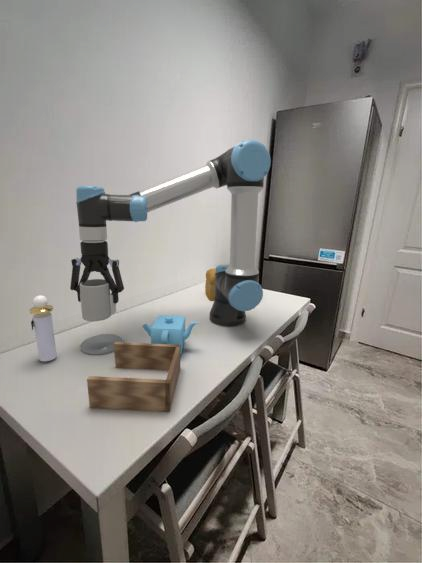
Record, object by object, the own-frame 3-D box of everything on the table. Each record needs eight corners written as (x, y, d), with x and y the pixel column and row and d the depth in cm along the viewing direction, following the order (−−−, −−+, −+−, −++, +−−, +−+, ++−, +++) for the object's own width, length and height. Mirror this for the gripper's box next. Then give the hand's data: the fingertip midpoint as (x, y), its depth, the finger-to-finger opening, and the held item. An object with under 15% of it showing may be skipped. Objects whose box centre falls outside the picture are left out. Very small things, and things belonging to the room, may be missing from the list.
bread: (209, 301, 136) (210, 272, 132) (204, 293, 148) (205, 266, 144) (256, 299, 141) (258, 271, 137) (248, 292, 153) (250, 265, 149)
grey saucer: (128, 336, 98) (128, 334, 97) (114, 356, 85) (114, 353, 85) (91, 335, 98) (91, 333, 98) (72, 354, 85) (72, 351, 85)
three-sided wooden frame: (180, 368, 80) (180, 344, 78) (169, 411, 63) (169, 383, 61) (116, 365, 80) (115, 341, 78) (89, 407, 64) (86, 379, 62)
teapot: (149, 337, 98) (148, 307, 95) (200, 339, 98) (201, 309, 95) (136, 361, 83) (134, 327, 80) (196, 364, 82) (197, 329, 79)
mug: (93, 324, 82) (90, 288, 79) (76, 316, 86) (73, 282, 83) (126, 312, 91) (124, 279, 88) (109, 306, 96) (107, 275, 93)
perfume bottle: (61, 353, 86) (54, 291, 80) (56, 363, 80) (47, 298, 75) (41, 355, 84) (31, 292, 79) (33, 365, 79) (23, 299, 74)
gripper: (133, 240, 86) (135, 309, 92) (65, 237, 86) (72, 306, 92) (125, 244, 79) (128, 318, 85) (51, 240, 79) (59, 314, 85)
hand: (99, 311), depth 88 cm, fingers closed on mug, 9 cm apart
